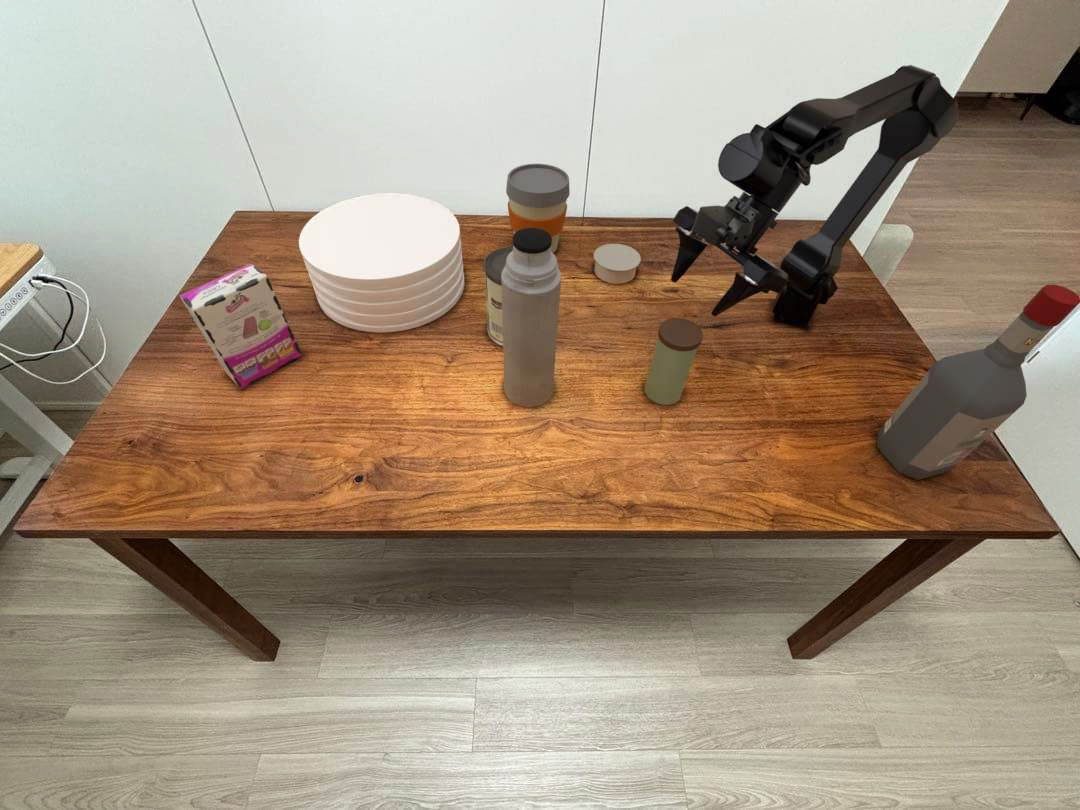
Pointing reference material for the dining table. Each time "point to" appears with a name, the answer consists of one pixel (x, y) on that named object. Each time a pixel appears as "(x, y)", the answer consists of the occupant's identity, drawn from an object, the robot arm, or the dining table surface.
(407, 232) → the plate stack
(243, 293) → the candy bar box
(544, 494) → the dining table surface
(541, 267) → the thermos bottle
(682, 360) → the cylinder
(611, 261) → the coffee pod
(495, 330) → the coffee can
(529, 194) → the reusable coffee cup
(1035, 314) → the liquor
